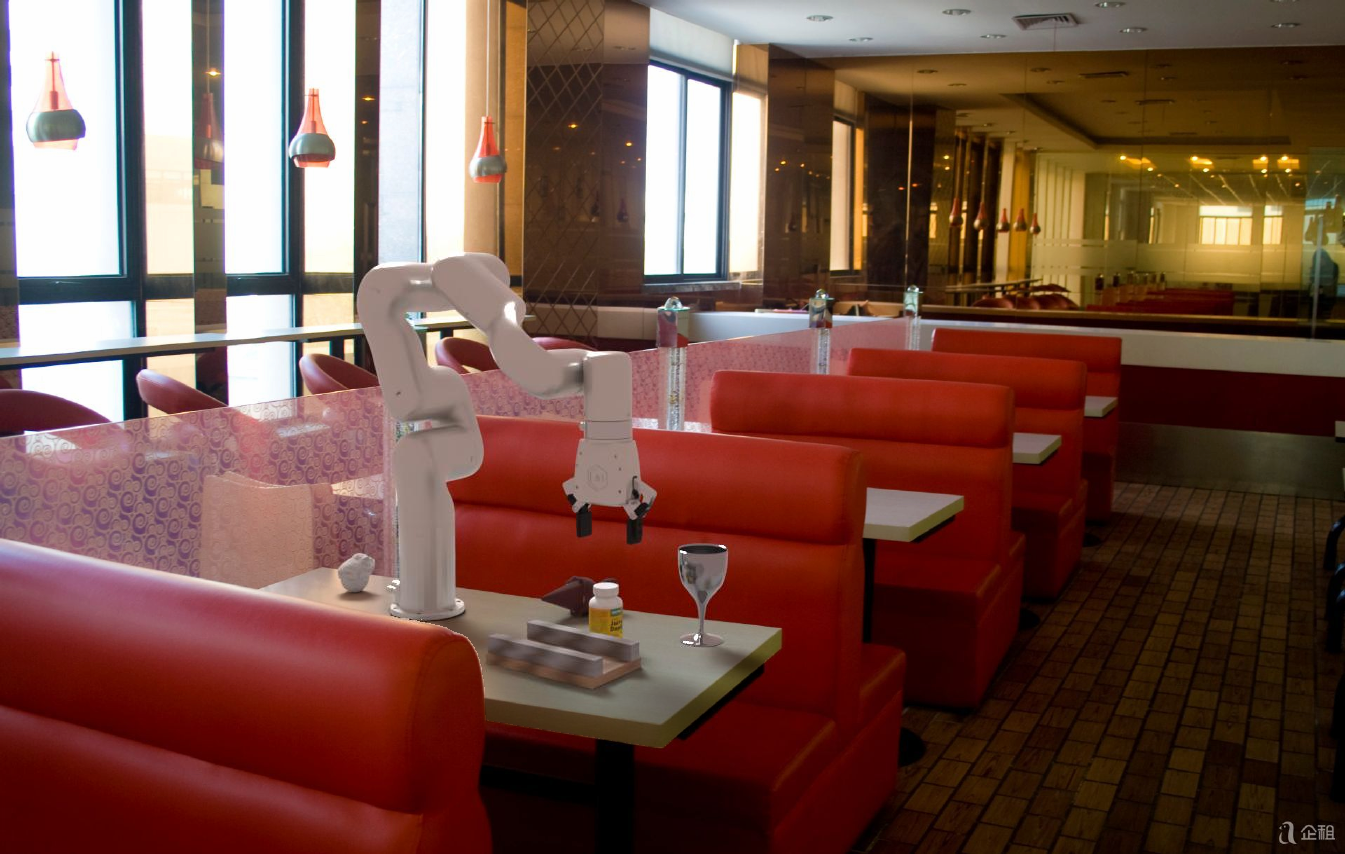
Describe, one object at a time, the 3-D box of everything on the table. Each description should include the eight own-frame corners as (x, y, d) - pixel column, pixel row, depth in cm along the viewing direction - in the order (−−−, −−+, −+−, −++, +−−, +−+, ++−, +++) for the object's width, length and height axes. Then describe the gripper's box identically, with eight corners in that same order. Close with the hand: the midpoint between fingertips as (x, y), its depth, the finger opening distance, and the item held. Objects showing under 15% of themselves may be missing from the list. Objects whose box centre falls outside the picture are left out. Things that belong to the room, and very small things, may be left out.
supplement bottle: (598, 637, 193) (599, 579, 192) (628, 642, 191) (629, 583, 190) (582, 646, 188) (582, 587, 187) (612, 651, 186) (613, 591, 185)
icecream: (556, 589, 198) (630, 585, 207) (534, 570, 204) (607, 566, 213) (547, 627, 200) (621, 621, 209) (526, 606, 205) (599, 601, 214)
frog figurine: (381, 592, 219) (381, 554, 218) (345, 598, 215) (345, 560, 214) (366, 585, 224) (366, 548, 223) (331, 591, 219) (330, 553, 219)
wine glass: (733, 636, 195) (735, 546, 193) (714, 650, 188) (716, 556, 186) (688, 630, 198) (689, 541, 196) (668, 643, 191) (670, 551, 189)
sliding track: (485, 662, 180) (485, 636, 179) (537, 643, 190) (537, 618, 189) (592, 689, 169) (592, 661, 168) (640, 667, 179) (641, 641, 178)
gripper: (549, 430, 187) (550, 537, 189) (640, 437, 178) (640, 550, 180) (578, 425, 193) (579, 530, 195) (668, 432, 184) (668, 541, 186)
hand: (609, 539), depth 187 cm, fingers open, 9 cm apart
